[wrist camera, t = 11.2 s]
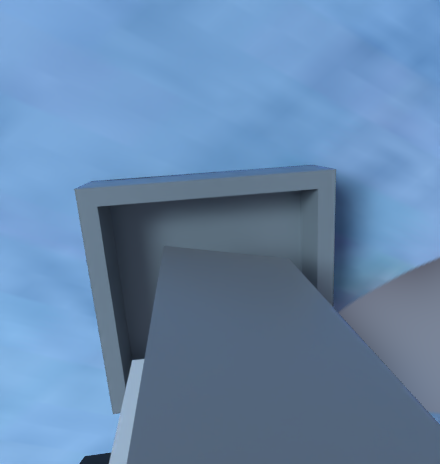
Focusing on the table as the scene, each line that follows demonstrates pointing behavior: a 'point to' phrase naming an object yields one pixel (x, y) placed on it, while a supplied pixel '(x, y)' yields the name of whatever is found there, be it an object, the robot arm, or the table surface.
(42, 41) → the table surface
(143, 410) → the perfume bottle
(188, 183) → the tray
